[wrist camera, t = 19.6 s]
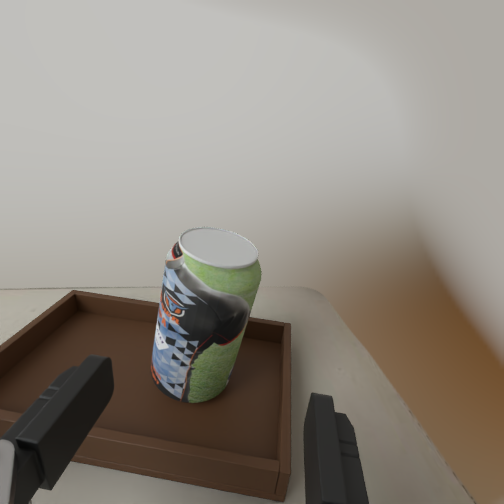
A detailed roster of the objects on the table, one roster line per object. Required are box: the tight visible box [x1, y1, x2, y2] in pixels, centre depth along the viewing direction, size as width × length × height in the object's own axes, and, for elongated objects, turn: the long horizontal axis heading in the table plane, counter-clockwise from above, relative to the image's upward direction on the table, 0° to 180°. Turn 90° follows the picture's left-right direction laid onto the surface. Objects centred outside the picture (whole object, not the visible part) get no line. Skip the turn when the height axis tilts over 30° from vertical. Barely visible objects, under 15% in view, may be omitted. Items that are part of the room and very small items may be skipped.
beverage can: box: [151, 227, 261, 403], centre depth 21 cm, size 6×7×12 cm
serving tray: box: [0, 290, 291, 502], centre depth 23 cm, size 21×13×3 cm, turn 83°
